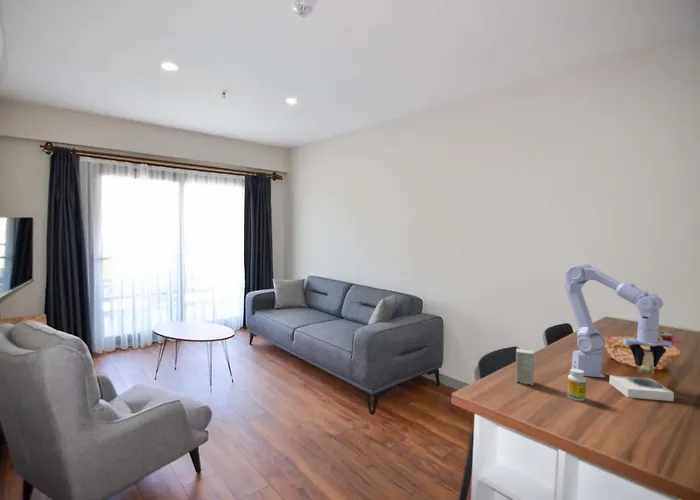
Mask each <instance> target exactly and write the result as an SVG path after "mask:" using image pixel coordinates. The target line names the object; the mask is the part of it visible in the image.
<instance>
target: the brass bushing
mask: <svg viewBox="0 0 700 500" xmlns="http://www.w3.org/2000/svg"><path fill="white" fill-rule="evenodd" d="M643 349H644V351H643V354H642V360H641V366H638V365H637V372H638V373H640V374H644V375H648V376H649V375H651V376H652V375H654V368H655V367H654V354H655V352H654V351H653V350H650V348H649V349H648V348H643Z"/></svg>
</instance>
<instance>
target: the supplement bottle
mask: <svg viewBox="0 0 700 500" xmlns="http://www.w3.org/2000/svg"><path fill="white" fill-rule="evenodd" d="M569 371H570V372H569V374H568V376H567V390H566V395H567V397H568V398H569V399H571V400H573V401H577V402H582V401H585V399H586V389H587V379H586V377H585V376H584V371H583V370H580V369H571V368H570V370H569Z"/></svg>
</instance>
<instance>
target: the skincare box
mask: <svg viewBox="0 0 700 500" xmlns="http://www.w3.org/2000/svg"><path fill="white" fill-rule="evenodd" d="M534 377H535V351H534V350H533V349H525V348H516V350H515V383H516V382H521V383H526V384H525V385H527V384H531V385H530V386H534V381H535V380H534V379H535V378H534ZM521 383H520V384H521Z"/></svg>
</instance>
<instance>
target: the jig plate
mask: <svg viewBox="0 0 700 500" xmlns="http://www.w3.org/2000/svg"><path fill="white" fill-rule="evenodd" d="M609 384H610V385H611V386H612V387H614V389H616V390H618V391H619V392H620V393H622V395H624V396H625V397H626V398H630V399H631V398H632V399H642V400H643V399H645V400H655V401H666V402H667V401H668V402H674V398H675V396H674V395H675V392H674V391H672V390H671V389H669V388H667V387H666V386H664V385H663V384H661V383H659V382H658V381H656V380H655V379H653V378H651V377H650V378H649V377H639V376H638V377H636V376H624V375H623V376H622V375H611V374H610V375H609Z"/></svg>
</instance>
